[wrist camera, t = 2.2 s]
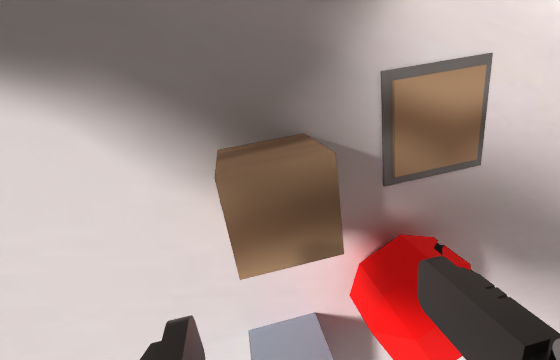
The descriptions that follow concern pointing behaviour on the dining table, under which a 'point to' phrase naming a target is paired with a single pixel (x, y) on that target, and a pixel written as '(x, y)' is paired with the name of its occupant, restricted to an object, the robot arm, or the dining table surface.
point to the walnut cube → (280, 203)
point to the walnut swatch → (434, 117)
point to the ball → (402, 299)
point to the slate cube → (290, 340)
